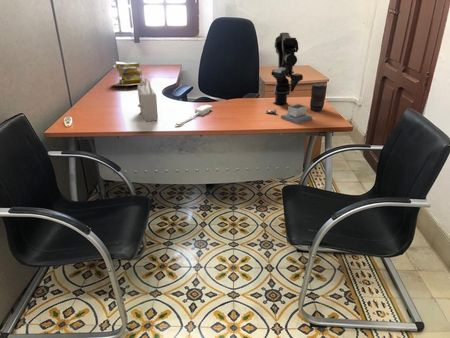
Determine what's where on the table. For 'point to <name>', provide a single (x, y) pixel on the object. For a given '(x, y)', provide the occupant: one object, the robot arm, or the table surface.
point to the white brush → (197, 113)
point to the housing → (297, 110)
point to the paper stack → (128, 73)
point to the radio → (147, 101)
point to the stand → (296, 120)
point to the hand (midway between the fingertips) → (285, 90)
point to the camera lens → (317, 96)
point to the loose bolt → (272, 112)
